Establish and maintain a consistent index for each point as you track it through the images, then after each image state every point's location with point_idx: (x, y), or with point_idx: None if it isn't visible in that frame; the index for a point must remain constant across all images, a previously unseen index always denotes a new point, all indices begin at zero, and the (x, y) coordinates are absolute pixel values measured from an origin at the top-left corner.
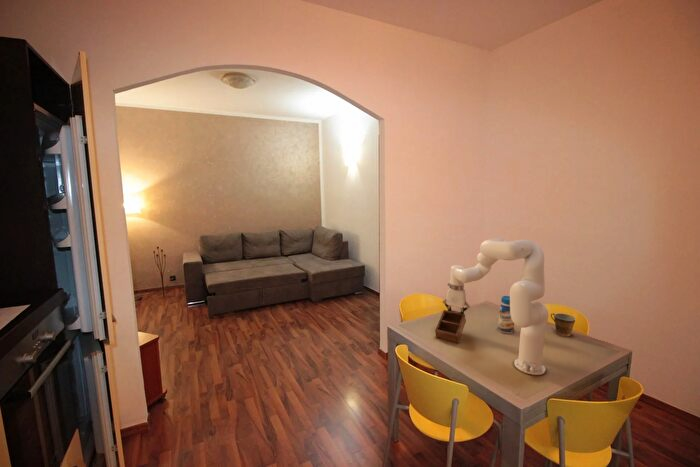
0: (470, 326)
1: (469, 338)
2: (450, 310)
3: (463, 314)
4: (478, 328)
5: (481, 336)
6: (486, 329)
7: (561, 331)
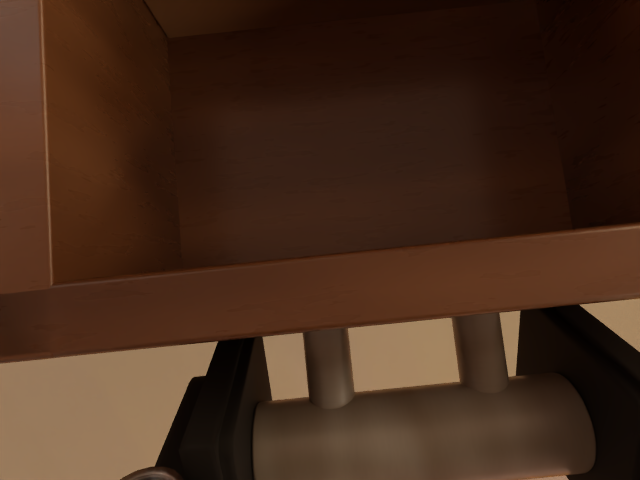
0: None
1: None
2: (601, 431)
3: (31, 328)
4: (149, 438)
5: None
6: (72, 464)
7: None
